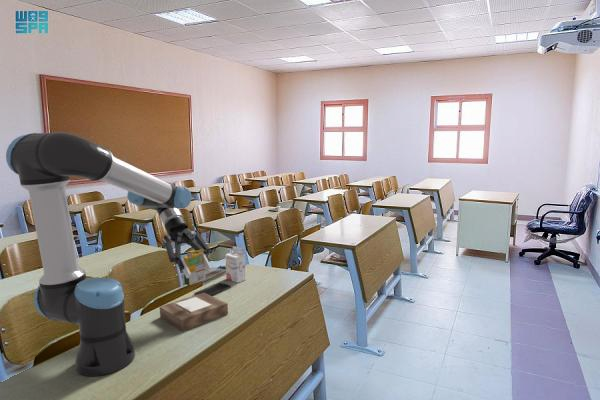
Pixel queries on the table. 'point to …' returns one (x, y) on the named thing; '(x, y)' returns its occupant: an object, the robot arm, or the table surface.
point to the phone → (214, 289)
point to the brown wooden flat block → (193, 311)
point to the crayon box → (195, 267)
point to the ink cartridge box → (235, 265)
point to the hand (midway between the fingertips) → (199, 273)
